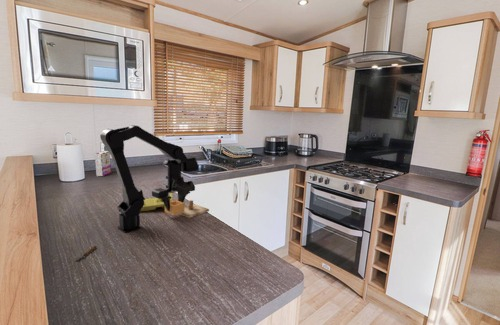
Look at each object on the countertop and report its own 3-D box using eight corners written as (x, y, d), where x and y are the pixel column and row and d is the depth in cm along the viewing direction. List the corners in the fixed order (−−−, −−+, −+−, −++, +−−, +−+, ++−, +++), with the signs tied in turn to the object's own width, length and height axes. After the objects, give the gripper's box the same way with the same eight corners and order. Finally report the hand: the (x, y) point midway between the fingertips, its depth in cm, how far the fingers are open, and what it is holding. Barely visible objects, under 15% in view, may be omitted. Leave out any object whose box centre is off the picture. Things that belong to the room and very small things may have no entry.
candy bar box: (104, 173, 195) (103, 150, 192) (111, 173, 195) (110, 151, 192) (95, 176, 184) (94, 153, 181) (102, 176, 184) (101, 153, 181)
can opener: (94, 248, 89) (93, 245, 89) (100, 249, 89) (100, 246, 89) (71, 263, 80) (71, 259, 80) (78, 264, 80) (78, 260, 80)
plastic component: (127, 208, 120) (129, 193, 128) (130, 219, 125) (132, 204, 132) (172, 203, 125) (172, 189, 133) (174, 214, 129) (173, 200, 137)
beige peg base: (189, 217, 118) (189, 207, 117) (172, 211, 125) (172, 201, 124) (208, 211, 127) (209, 201, 127) (192, 205, 135) (192, 195, 134)
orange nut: (173, 215, 113) (173, 206, 113) (164, 211, 117) (164, 203, 116) (184, 211, 118) (184, 203, 117) (176, 208, 122) (176, 200, 121)
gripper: (167, 181, 103) (167, 219, 105) (203, 174, 117) (203, 208, 120) (150, 176, 109) (151, 212, 112) (187, 170, 124) (187, 202, 126)
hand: (174, 208), depth 117 cm, fingers closed on orange nut, 6 cm apart
